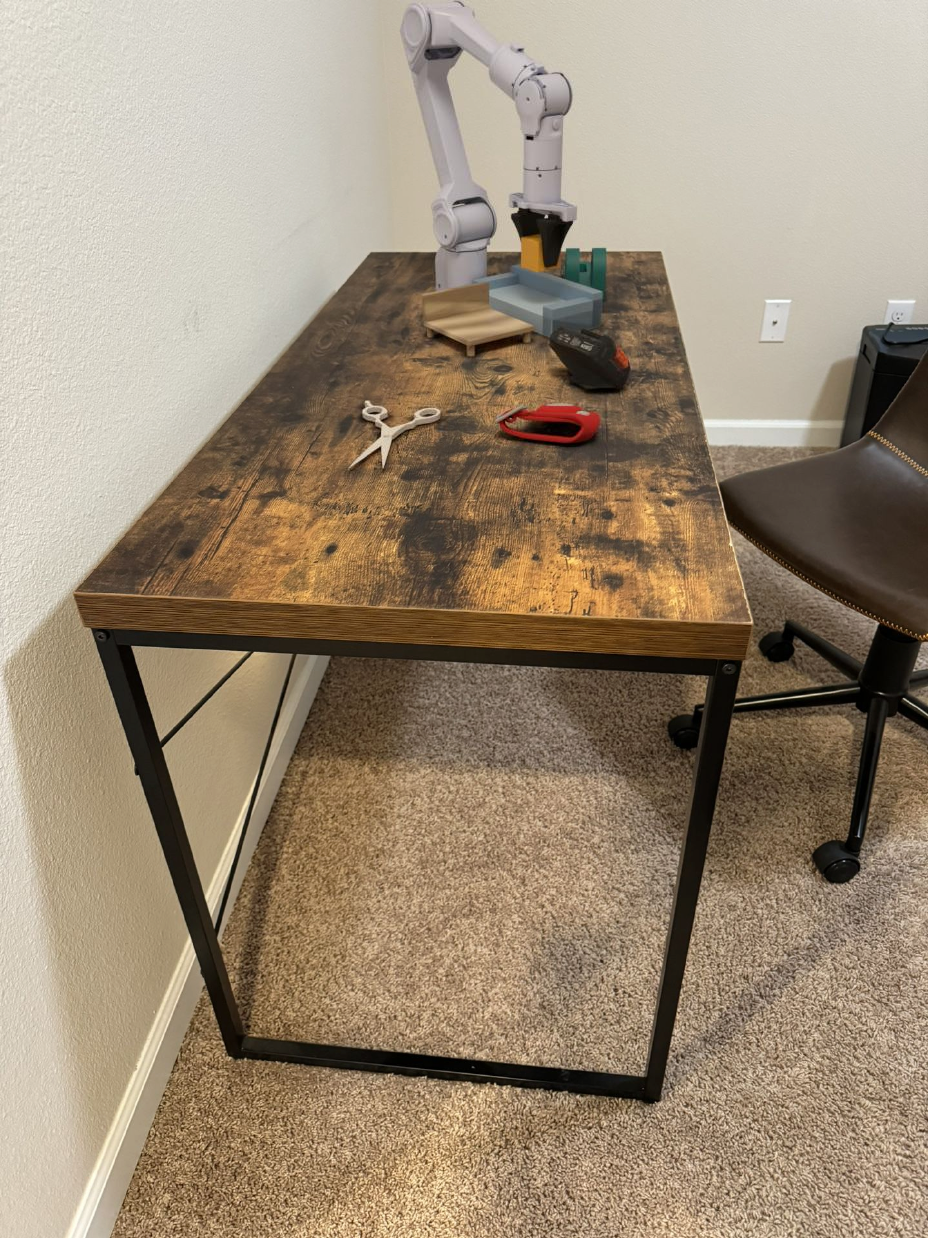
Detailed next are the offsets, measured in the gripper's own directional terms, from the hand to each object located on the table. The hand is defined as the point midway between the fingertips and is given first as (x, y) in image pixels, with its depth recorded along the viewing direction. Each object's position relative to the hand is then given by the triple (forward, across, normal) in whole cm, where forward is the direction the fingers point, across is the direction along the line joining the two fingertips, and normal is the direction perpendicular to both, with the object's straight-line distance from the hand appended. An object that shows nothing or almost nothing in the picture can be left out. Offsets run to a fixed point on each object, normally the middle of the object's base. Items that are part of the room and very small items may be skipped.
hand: (540, 262), depth 144 cm
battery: (+10, +26, -11) cm, 30 cm away
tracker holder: (+10, +36, -26) cm, 45 cm away
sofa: (+9, -3, +1) cm, 10 cm away
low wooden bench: (+9, +1, -13) cm, 16 cm away
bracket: (+9, -12, +19) cm, 24 cm away
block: (+1, 0, 0) cm, 1 cm away
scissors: (+9, +26, -43) cm, 51 cm away
